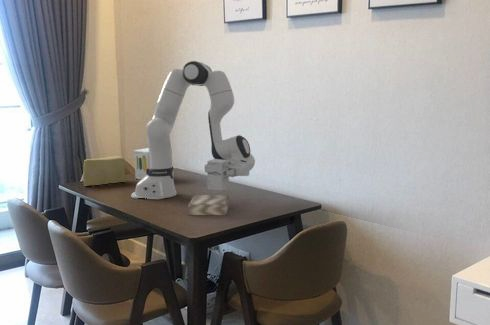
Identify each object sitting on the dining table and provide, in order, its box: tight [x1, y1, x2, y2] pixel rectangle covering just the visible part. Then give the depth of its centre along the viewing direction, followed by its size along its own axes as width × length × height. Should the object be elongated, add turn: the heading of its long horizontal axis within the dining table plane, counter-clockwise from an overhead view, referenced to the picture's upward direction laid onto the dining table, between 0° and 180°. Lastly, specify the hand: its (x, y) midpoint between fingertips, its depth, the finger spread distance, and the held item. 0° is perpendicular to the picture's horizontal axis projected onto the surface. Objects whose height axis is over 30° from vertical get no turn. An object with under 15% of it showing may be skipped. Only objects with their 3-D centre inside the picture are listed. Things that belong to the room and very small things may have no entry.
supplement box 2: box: [206, 158, 230, 192], centre depth 224 cm, size 7×7×13 cm
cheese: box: [82, 155, 126, 186], centre depth 282 cm, size 22×10×15 cm, turn 126°
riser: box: [187, 194, 230, 216], centre depth 224 cm, size 16×16×5 cm
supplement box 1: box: [133, 147, 150, 179], centre depth 293 cm, size 13×13×18 cm
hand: (217, 172), depth 223 cm, fingers closed on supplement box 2, 7 cm apart
